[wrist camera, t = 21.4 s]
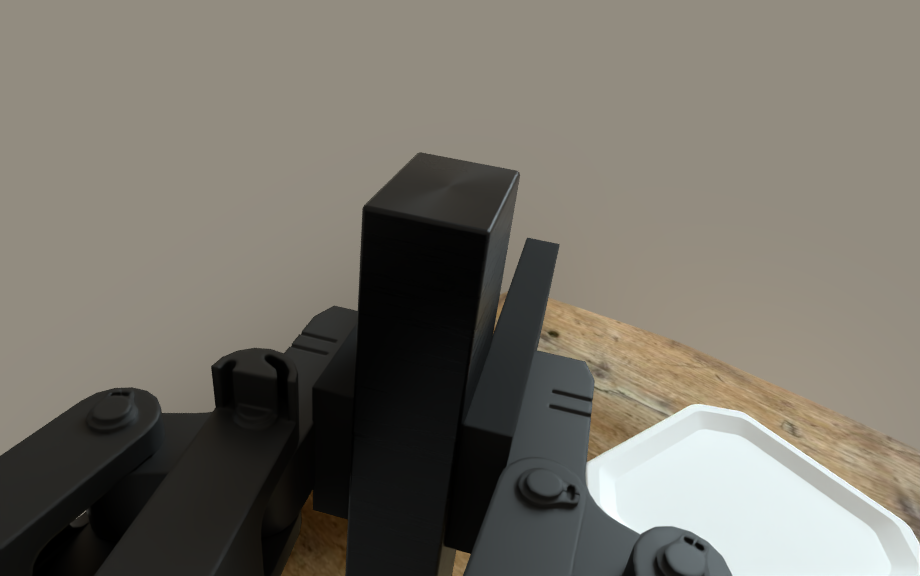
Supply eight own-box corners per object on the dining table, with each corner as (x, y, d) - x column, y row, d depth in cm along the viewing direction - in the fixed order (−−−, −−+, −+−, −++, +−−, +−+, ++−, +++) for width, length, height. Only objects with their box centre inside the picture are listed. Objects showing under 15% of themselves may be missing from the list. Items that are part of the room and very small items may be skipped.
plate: (799, 747, 37) (815, 727, 36) (549, 497, 50) (554, 477, 49) (941, 573, 48) (956, 554, 47) (706, 408, 62) (714, 390, 61)
